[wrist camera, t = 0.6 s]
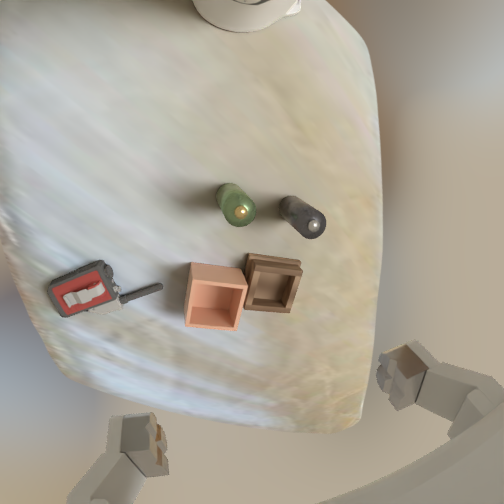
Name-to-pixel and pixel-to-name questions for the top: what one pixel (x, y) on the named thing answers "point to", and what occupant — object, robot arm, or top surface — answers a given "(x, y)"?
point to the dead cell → (302, 217)
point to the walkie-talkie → (91, 291)
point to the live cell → (236, 205)
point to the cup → (214, 297)
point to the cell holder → (271, 283)
